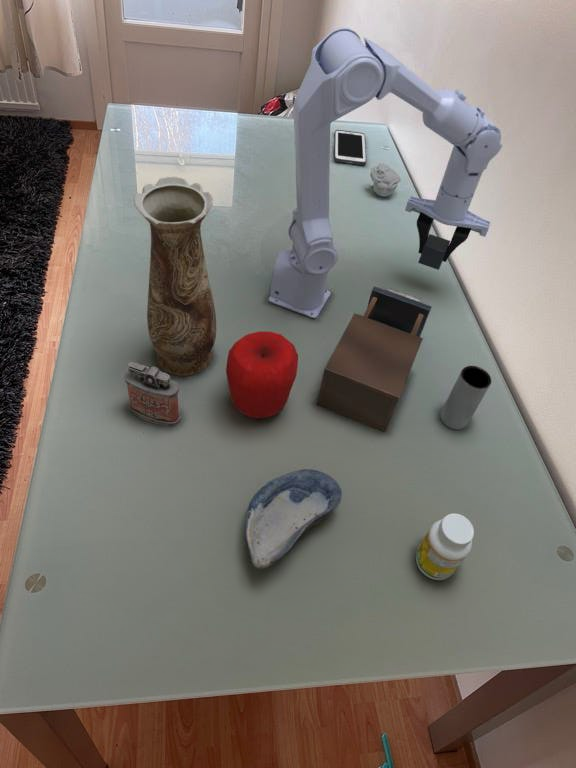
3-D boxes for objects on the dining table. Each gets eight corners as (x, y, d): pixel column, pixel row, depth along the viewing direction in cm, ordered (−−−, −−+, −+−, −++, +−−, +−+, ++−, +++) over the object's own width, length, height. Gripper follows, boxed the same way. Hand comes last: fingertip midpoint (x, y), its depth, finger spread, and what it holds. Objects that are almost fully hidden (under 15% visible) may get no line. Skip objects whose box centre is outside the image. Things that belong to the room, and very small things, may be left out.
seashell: (340, 586, 74) (347, 570, 71) (241, 580, 74) (243, 564, 70) (335, 481, 84) (341, 462, 81) (248, 475, 84) (250, 456, 80)
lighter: (184, 413, 89) (182, 370, 82) (174, 430, 87) (171, 387, 79) (136, 396, 90) (129, 352, 83) (125, 413, 88) (117, 369, 81)
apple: (260, 368, 97) (267, 307, 86) (304, 406, 93) (317, 347, 82) (211, 400, 91) (211, 339, 81) (255, 442, 87) (261, 384, 77)
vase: (227, 348, 99) (232, 189, 76) (194, 391, 92) (189, 231, 69) (173, 325, 101) (163, 164, 78) (137, 366, 94) (114, 203, 71)
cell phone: (334, 162, 141) (334, 158, 140) (334, 132, 151) (335, 129, 150) (365, 166, 141) (366, 162, 141) (364, 136, 151) (365, 132, 150)
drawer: (373, 300, 109) (381, 272, 104) (426, 320, 107) (437, 291, 102) (342, 359, 99) (350, 330, 93) (401, 382, 97) (412, 354, 92)
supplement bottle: (441, 589, 76) (466, 558, 68) (406, 562, 78) (427, 529, 70) (461, 560, 79) (487, 527, 71) (427, 534, 80) (449, 500, 73)
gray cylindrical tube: (434, 417, 94) (455, 375, 86) (449, 402, 96) (471, 360, 88) (458, 434, 92) (481, 393, 84) (473, 419, 94) (497, 377, 87)
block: (417, 263, 108) (424, 245, 105) (423, 251, 111) (429, 233, 108) (438, 270, 108) (445, 252, 105) (443, 258, 110) (450, 240, 107)
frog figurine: (366, 184, 136) (372, 156, 131) (396, 189, 136) (403, 161, 131) (365, 199, 132) (371, 170, 127) (395, 204, 132) (403, 176, 127)
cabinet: (345, 349, 102) (354, 312, 95) (408, 373, 99) (423, 338, 93) (316, 404, 93) (324, 368, 86) (385, 432, 91) (399, 397, 84)
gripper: (504, 190, 99) (475, 255, 109) (421, 165, 102) (402, 230, 112) (496, 211, 95) (468, 277, 105) (411, 183, 97) (391, 250, 108)
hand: (433, 254), depth 108 cm, fingers closed on block, 4 cm apart
